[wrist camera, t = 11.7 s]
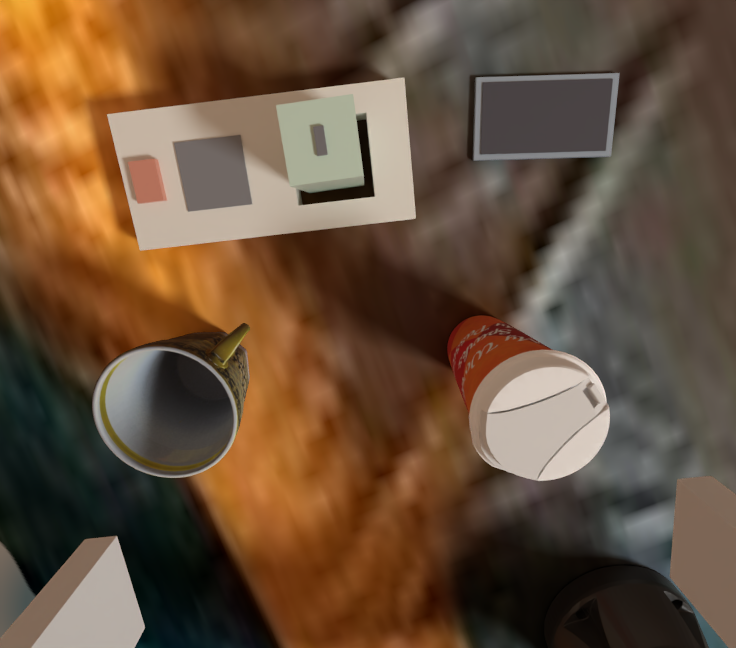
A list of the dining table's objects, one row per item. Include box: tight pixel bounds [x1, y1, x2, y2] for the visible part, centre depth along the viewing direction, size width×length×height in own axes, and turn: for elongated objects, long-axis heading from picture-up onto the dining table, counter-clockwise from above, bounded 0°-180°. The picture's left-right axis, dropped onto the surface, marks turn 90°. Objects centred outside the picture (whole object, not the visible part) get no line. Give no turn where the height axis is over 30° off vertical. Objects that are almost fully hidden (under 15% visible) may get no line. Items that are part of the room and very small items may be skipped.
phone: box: [473, 73, 619, 161], centre depth 34 cm, size 6×11×1 cm, turn 91°
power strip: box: [107, 78, 416, 251], centre depth 34 cm, size 10×22×3 cm, turn 96°
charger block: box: [276, 94, 364, 193], centre depth 30 cm, size 4×4×10 cm
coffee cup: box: [447, 315, 610, 481], centre depth 32 cm, size 8×8×15 cm
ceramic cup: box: [92, 323, 250, 478], centre depth 34 cm, size 13×10×10 cm
